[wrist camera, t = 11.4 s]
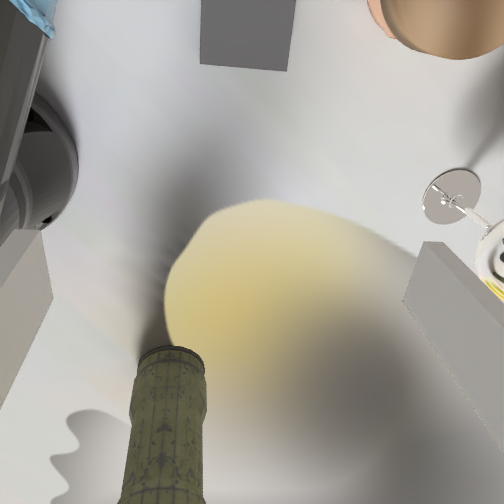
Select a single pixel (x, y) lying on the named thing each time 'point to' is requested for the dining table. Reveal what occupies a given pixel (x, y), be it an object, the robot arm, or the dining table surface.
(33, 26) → the robot arm
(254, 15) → the stand
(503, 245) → the wineglass
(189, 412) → the thermos
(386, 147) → the dining table surface
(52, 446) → the dining table surface
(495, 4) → the lid
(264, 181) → the dining table surface
